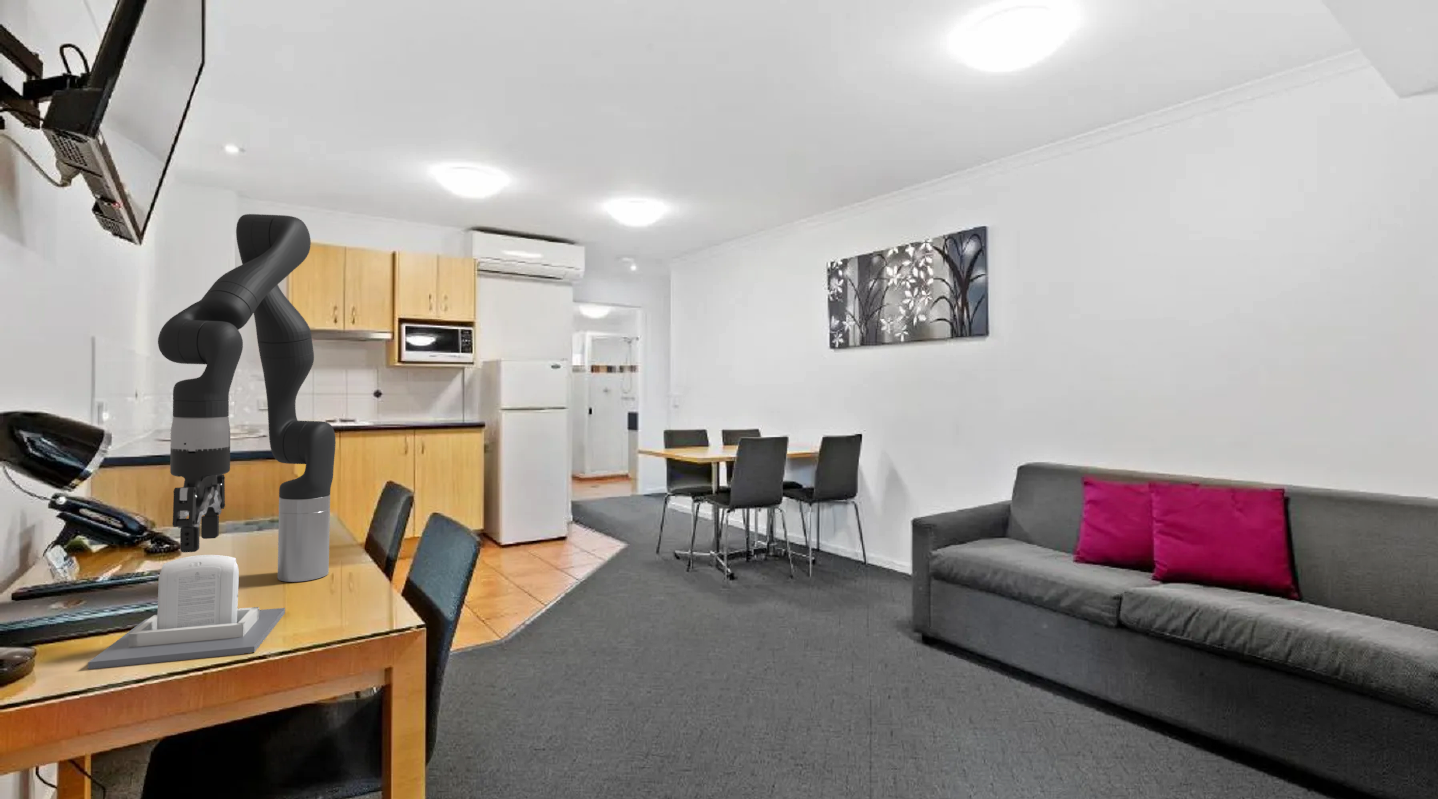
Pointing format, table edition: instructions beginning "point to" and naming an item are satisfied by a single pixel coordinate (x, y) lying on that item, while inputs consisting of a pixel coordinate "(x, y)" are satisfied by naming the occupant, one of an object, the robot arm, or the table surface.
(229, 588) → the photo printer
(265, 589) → the table surface
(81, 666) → the table surface
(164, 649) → the dock
